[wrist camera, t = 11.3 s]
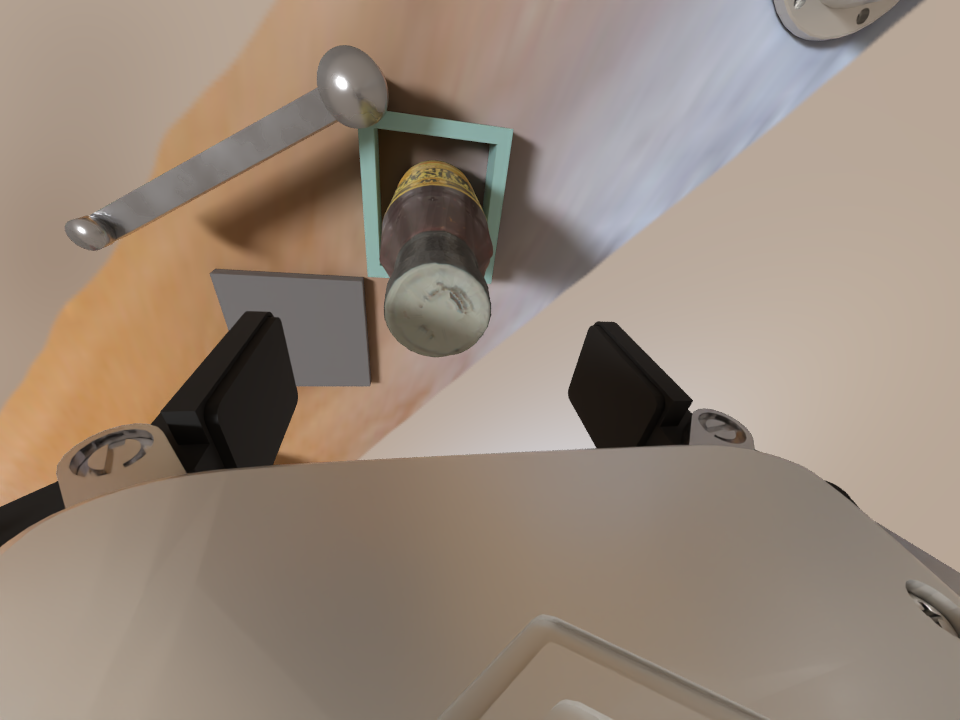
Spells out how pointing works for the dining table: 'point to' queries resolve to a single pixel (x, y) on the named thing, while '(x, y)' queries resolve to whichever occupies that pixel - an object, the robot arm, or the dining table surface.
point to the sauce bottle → (436, 261)
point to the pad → (306, 320)
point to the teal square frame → (442, 128)
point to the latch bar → (247, 147)
